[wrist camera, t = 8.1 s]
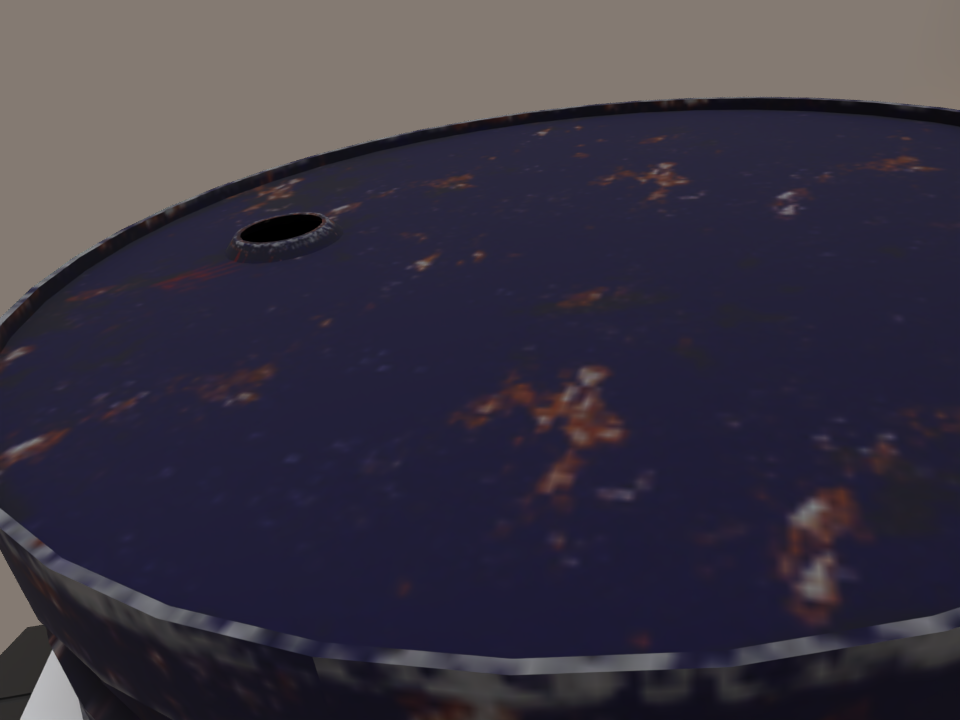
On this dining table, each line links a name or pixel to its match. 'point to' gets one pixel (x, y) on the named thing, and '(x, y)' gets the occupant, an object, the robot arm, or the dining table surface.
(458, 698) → the dark blue ribbed cylinder
